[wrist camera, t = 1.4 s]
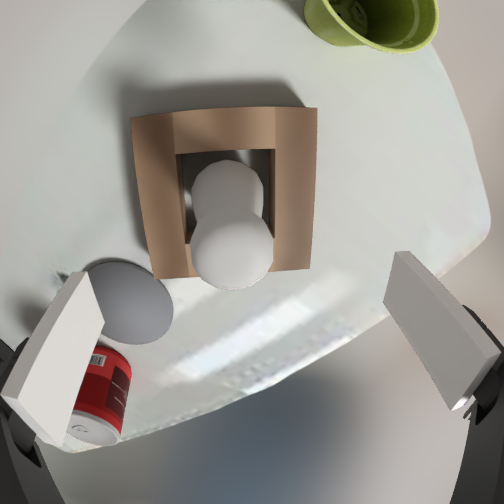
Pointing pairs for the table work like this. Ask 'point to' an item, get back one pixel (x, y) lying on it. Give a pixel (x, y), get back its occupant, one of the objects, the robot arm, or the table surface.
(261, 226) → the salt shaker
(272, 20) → the table surface
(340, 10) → the plant pot
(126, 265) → the coaster
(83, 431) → the canned food
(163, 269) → the collar block
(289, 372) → the table surface
